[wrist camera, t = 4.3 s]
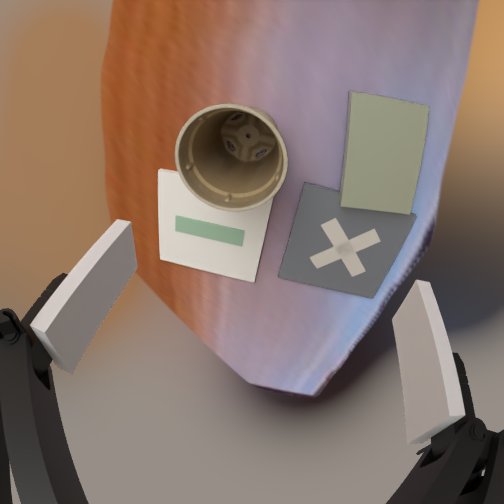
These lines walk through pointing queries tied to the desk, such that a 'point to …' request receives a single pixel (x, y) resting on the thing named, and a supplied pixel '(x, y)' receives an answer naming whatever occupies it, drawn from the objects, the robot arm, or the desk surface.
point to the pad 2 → (342, 243)
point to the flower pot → (231, 157)
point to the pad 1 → (208, 231)
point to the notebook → (382, 152)
